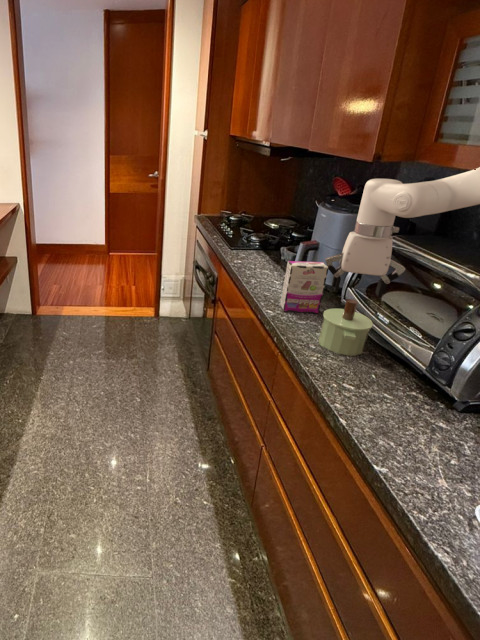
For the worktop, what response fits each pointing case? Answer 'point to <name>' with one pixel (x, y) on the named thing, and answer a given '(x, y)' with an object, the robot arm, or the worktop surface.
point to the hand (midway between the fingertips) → (356, 292)
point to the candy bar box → (303, 286)
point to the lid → (348, 317)
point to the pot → (342, 339)
